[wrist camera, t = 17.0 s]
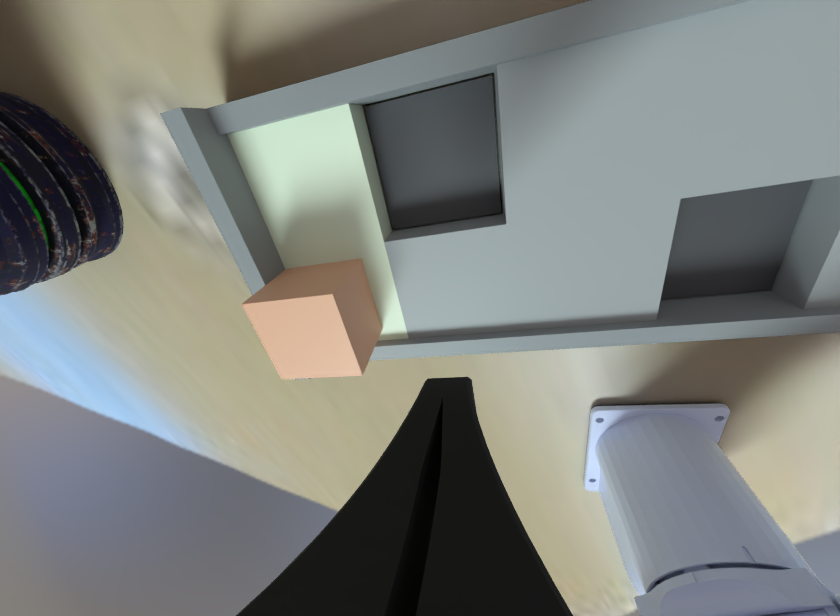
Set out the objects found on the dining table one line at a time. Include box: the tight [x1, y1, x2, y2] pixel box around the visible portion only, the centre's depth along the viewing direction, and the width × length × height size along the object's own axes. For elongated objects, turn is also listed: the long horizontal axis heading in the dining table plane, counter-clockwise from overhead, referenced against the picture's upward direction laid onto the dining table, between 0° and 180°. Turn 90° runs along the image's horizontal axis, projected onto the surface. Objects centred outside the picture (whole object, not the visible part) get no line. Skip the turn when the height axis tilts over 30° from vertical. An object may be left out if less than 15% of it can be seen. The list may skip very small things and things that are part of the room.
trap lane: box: [160, 0, 840, 380], centre depth 14 cm, size 14×32×4 cm, turn 101°
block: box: [241, 259, 382, 379], centre depth 16 cm, size 4×4×4 cm
